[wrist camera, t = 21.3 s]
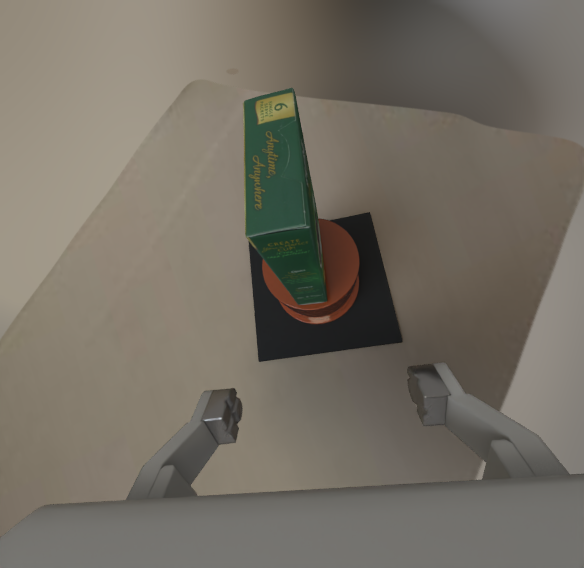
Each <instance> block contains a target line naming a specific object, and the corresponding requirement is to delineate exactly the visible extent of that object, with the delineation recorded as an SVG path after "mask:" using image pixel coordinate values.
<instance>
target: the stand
mask: <svg viewBox="0 0 584 568" xmlns="http://www.w3.org/2000/svg"><path fill="white" fill-rule="evenodd" d="M318 221H319V228H320V236H321V245H322V254H323V263H324V270H325V282H326V291H327V302H323V303H316V304H306V305H298V304H297V303H296V301H295V300H294V299H293V297H292V296H291V295H290V293H289V292H288V291H287V289H286V288H285V287H284V285H283V284H282V283H281V281H280V280H279V279H278V278H277V276H276V275H275V274H274V272H273V271H272V270H271V269H270V267H269V266H268V264H267V263H266V262H265V261H264V259H263V263H262V270H263V277H264V280H265V283H266V285H267V287H268V288H269V290H270V292H271V293H272V294H273V295H274V296H275V297H276V298H277V299H278V300H279V302H280V304H281V305H282V307H283V308H284V309H285V311H286V312H287V313H288V314H290V315H291V316H292V317H293V318H295V319H297V320H299V321H301V322H304V323H307V324H313V325H320V324H326V323H330V322H333V321H335V320H337V319H339V318H340V317H342V316H343V315H344V314H346V313H347V312H348V311H349V309H350V308H351V307H352V305H353V304H354V302H355V300H356V297H357V294H358V290H359V276H358V271H359V253H358V249H357V246H356V244H355V242H354V240H353V239H352V237H351V236H350V235H349V234H348V232H347V231H346V230H344V229H343V228H342V227H340V226H339V225H337V224H335V223H333V222H331V221H328V220H324V219H318Z"/></svg>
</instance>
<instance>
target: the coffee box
mask: <svg viewBox="0 0 584 568" xmlns="http://www.w3.org/2000/svg"><path fill="white" fill-rule="evenodd" d="M243 109H244V198H245V235H246V238H247V239H248V240H249V242H250V243H251V244H252V246H253V247H254V248H255V249H256V250H257V252H258V253H259V254H260V255H261V257H262V258H263V259H264V261H265V262H266V263H267V264H268V266H269V267H270V269H271V270H272V271H273V272H274V274H275V275H276V276H277V278H278V279H279V280H280V281H281V283H282V284H283V285H284V287H285V288H286V289H287V291H288V292H289V293H290V295H291V296H292V297H293V299H294V300H295V301H296V303H297V304H298V305H306V304H316V303H323V302H327V291H326V282H325V270H324V263H323V254H322V245H321V236H320V228H319V221H318V215H317V209H316V203H315V198H314V192H313V187H312V182H311V177H310V172H309V166H308V161H307V155H306V150H305V144H304V139H303V133H302V128H301V123H300V118H299V112H298V107H297V101H296V96H295V92H294V89H293V88H289V89H286V90H283V91H278V92H274V93H270V94H266V95H262V96H258V97H255V98H252V99H248V100H246V101H244V104H243Z"/></svg>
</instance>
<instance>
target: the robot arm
mask: <svg viewBox="0 0 584 568" xmlns="http://www.w3.org/2000/svg"><path fill="white" fill-rule="evenodd" d="M407 373H408V375H409V379H408V380H407V381H408V389H409V393H410V396H411V398H412V401H413V402H414V403H415V404H416V405H417V413H418V415H419V417H420V420H421V422H422V424H423V426H434V425H445V426H446V427H447V428H448V429H449V430H450V431H451V432H452V433H454V434H455V435H456V436H457V437H458V438H459V439H460V440H461V441H463V442H464V443H465V444H466V445H467V446H468V447H469V448H471V449H472V450H473V451H474V452H475V453H476V454H477V455H478V456H480V457H481V458H482V459H483V460H484V461H485V462H486V466H485V470H484V474H483V478H482V480H469V481H451V482H434V483H417V484H399V485H382V486H364V487H346V488H328V489H311V490H294V491H277V492H259V493H242V494H225V495H207V496H197V493H196V492H195V491H194V489H193V488H192V487H191V486H190V485H191V484H192V482H193V481H194V480H195V478H196V477H197V475H198V474H199V473H200V471H201V470H202V468H203V467H204V466H205V464H206V463H207V461H208V460H209V459H210V457H211V456H212V454H213V453H214V452H215V450H216V449H217V447H218V446H219V445H220V444H229V443H236V439H237V434H238V430H239V428H238V426H237V424H238V422H239V421H240V420H241V417H242V403H241V400H240V399H239V398H238V397H236V394H237V392H236V390H235V388H231V389H220V390H210V391H204V392H203V393H202V395H201V397H200V400H199V402H198V404H197V407H196V409H195V411H194V414H193V416H192V419H191V421H190V422H189V423H186V424H185V425H184V426H183V427H182V428H181V429H180V430H179V431H178V432H177V433H176V434H175V435H174V436H173V437H172V438H171V439H170V440H169V441H168V442H167V443H166V444H165V445H164V446H163V447H162V448H161V449H160V450H159V451H158V452H157V453H156V454H155V455H154V456H153V457H152V458H151V459H150V460H149V461H148V462H147V463H146V464H145V465H144V466H143V467H142V469H141V471H140V473H139V475H138V477H137V479H136V481H135V483H134V485H133V487H132V489H131V491H130V493H129V495H128V497H127V499H126V500H120V501H102V502H84V503H66V504H49V505H44V506H42V507H40V508H38V509H36V510H35V511H33V512H32V513H31V514H29V515H28V516H27V517H25V518H24V519H23V520H21V521H20V522H19V523H18V524H16V525H15V526H14V527H13V528H11V529H10V530H9V531H8V532H6V533H5V534H4V535H3V536H1V537H0V568H584V474H573V475H570V474H569V473H568V472H567V470H566V469H565V468H564V467H563V465H562V464H561V463H560V462H559V460H558V459H557V458H556V457H555V455H554V454H553V453H552V452H551V450H550V449H549V448H548V447H547V445H546V444H545V443H544V442H543V440H542V439H541V438H540V437H539V436H538V435H537V434H535V433H533V432H532V431H530V430H529V429H527V428H525V427H523V426H522V425H520V424H519V423H517V422H515V421H514V420H512V419H511V418H509V417H507V416H506V415H504V414H503V413H501V412H499V411H498V410H496V409H494V408H493V407H491V406H489V405H488V404H486V403H485V402H483V401H481V400H480V399H478V398H476V397H475V396H473V395H472V394H466V393H465V391H464V390H463V388H462V387H461V385H460V384H459V382H458V381H457V379H456V378H455V376H454V375H453V373H452V372H451V370H450V369H449V367H448V366H447V364H446V363H445V362H441V363H433V364H424V365H417V366H409V367H408V368H407Z"/></svg>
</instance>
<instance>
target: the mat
mask: <svg viewBox="0 0 584 568" xmlns="http://www.w3.org/2000/svg"><path fill="white" fill-rule="evenodd" d="M330 221H331V222H333V223H335V224H337V225H339V226H340V227H342V228H343V229H344V230H346V231H347V232H348V234H349V235H350V236H351V237H352V239H353V240H354V242H355V244H356V246H357V249H358V253H359V271H358V276H359V290H358V294H357V297H356V300H355V302H354V304H353V305H352V307H351V308H350V309H349V311H348V312H347V313H346V314H344V315H343V316H342V317H340V318H339V319H337V320H335V321H333V322H330V323H326V324H320V325H313V324H307V323H304V322H301V321H299V320H297V319H295V318H293V317H292V316H291V315H290V314H288V313H287V312H286V311H285V309H284V308H283V307H282V305H281V304H280V302H279V300H278V299H277V298H276V297H275V296H274V295H273V294H272V293H271V292H270V290H269V288H268V287H267V285H266V283H265V280H264V277H263V270H262V263H263V258H262V257H261V255H260V254H259V253H258V252H257V250H256V249H255V248H254V247H253V246H252V244H251V243H250V242H249V251H250V263H251V274H252V286H253V298H254V310H255V322H256V334H257V346H258V357H259V362H260V361H268V360H275V359H282V358H290V357H297V356H304V355H312V354H319V353H326V352H333V351H341V350H348V349H355V348H363V347H370V346H377V345H385V344H392V343H399V342H402V337H401V334H400V330H399V326H398V322H397V318H396V314H395V310H394V306H393V302H392V298H391V294H390V290H389V286H388V282H387V278H386V274H385V270H384V266H383V262H382V258H381V254H380V250H379V246H378V242H377V238H376V234H375V230H374V226H373V222H372V219H371V215H370V212H369V213H364V214H359V215H354V216H349V217H345V218H340V219H335V220H330Z"/></svg>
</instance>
